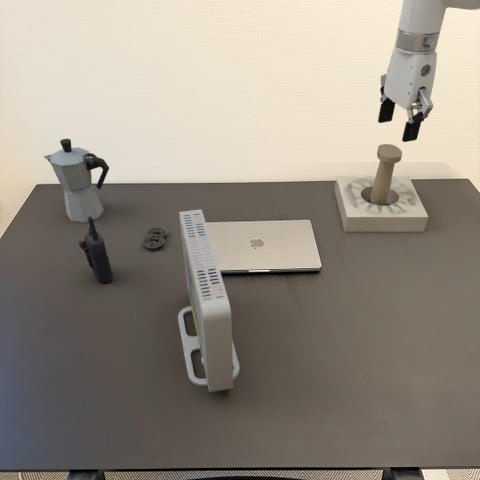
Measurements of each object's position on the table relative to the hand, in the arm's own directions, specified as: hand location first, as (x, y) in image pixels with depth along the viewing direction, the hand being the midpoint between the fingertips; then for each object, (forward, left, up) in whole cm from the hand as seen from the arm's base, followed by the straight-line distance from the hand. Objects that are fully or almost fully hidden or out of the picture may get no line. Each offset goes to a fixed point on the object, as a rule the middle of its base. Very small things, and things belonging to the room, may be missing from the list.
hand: (396, 130), depth 99 cm
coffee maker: (+66, -21, -20) cm, 72 cm away
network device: (+50, +28, -20) cm, 61 cm away
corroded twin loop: (+53, -5, -19) cm, 57 cm away
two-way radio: (+66, +4, -20) cm, 69 cm away
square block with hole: (0, 0, -19) cm, 19 cm away
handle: (0, 0, -20) cm, 20 cm away
